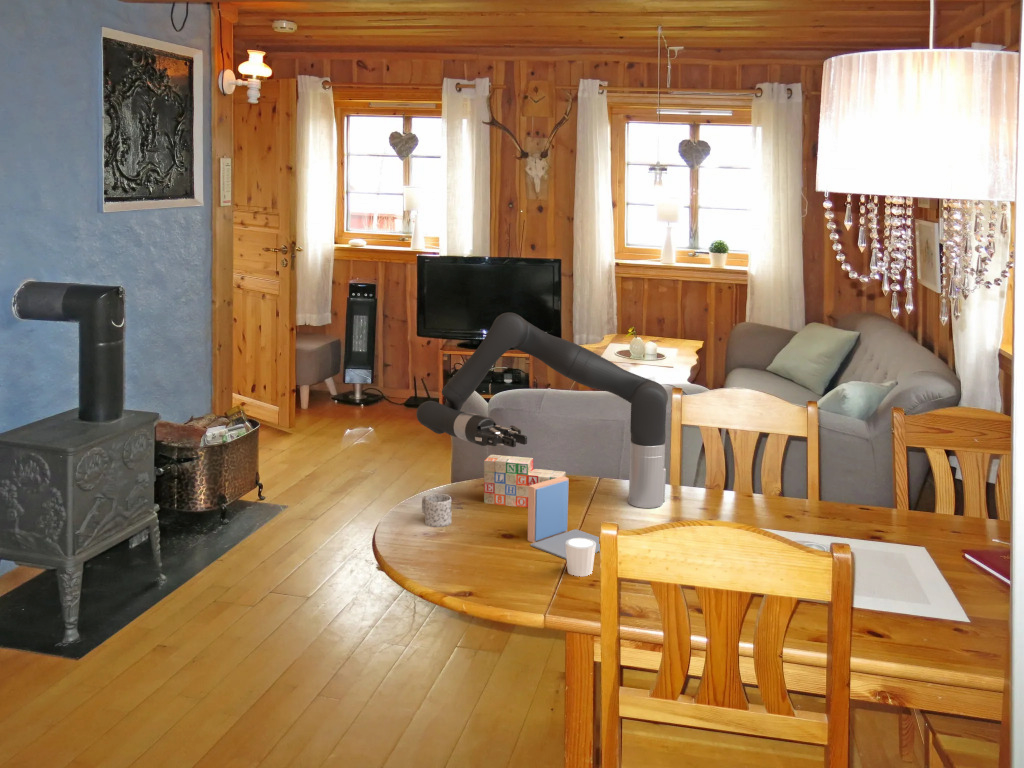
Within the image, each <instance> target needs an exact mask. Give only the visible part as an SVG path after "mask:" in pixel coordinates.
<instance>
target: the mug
mask: <svg viewBox="0 0 1024 768" xmlns="http://www.w3.org/2000/svg"><path fill="white" fill-rule="evenodd" d="M421 511H422V513H423V514H424V516H425V517H424V521H425V522H424V523H425V525H426V526H428V527H431V528H444V527H448V526H450V525H451V524H452V497H451V496H450V495H449V494H444V493H433V494H429V495H427V496H426V495H425V496H423V497H422V499H421Z"/></svg>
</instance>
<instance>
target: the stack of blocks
mask: <svg viewBox="0 0 1024 768" xmlns="http://www.w3.org/2000/svg"><path fill="white" fill-rule="evenodd" d="M566 473H567V472H566V471H562V470H561V471H560V470H553V469H552V470H551V469H544V468H543V469H540V468H534V458H533V457H527V456H526V457H524V456H522V457H521V456H514V455H513V456H511V455H498V454H489V455H488V457H486V458H485V459H484V460H483V492H484V493H483V499H484V500H483V503H484V504H490V505H491V504H492V505H500V506H509V507H516V508H517V507H519V508H528V489H529V486H530V485H533V484H537V483H540V482H544V481H548V480H551V479H555V478H558V477H562V476H564V477H567V475H566Z"/></svg>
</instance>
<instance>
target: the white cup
mask: <svg viewBox="0 0 1024 768" xmlns="http://www.w3.org/2000/svg"><path fill="white" fill-rule="evenodd" d="M595 548H596V542H595V541H593V540H591V539H587V538H572V539H569V540H567V541H566V556H567V560H566V567H567V573H568V574H569V575H571V576H573V575H574V576H573V577H579V576H580V577H581V578H582V577H589V576H591V575H592V574H593V572H594V563H595V555H596V554H595ZM592 571H593V572H592ZM590 574H591V575H590ZM588 575H589V576H588Z"/></svg>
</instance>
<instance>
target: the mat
mask: <svg viewBox="0 0 1024 768" xmlns="http://www.w3.org/2000/svg"><path fill="white" fill-rule="evenodd" d="M572 538H587V539H591V540H593V541H595V542H596V548H595V553H596V554H598V553H597V552H598V551H599V553H601V552H600V544H599V536H596V535H595V534H591V533H588V532H586V531H583V530H580V529H577V528H575V529H572V530H569V531H568V530H567V532H564V533H561V534H558V535H555V536H552V537H549V538H546V539H543V540H540V541H537V542H535V543H530V547H533V548H535V549H538V550H540V551H543V552H546V553H548V554H551V555H554V556H557V557H558V558H562V559H564V560H566V561H567V556H566V541H567V540H569V539H572Z"/></svg>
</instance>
